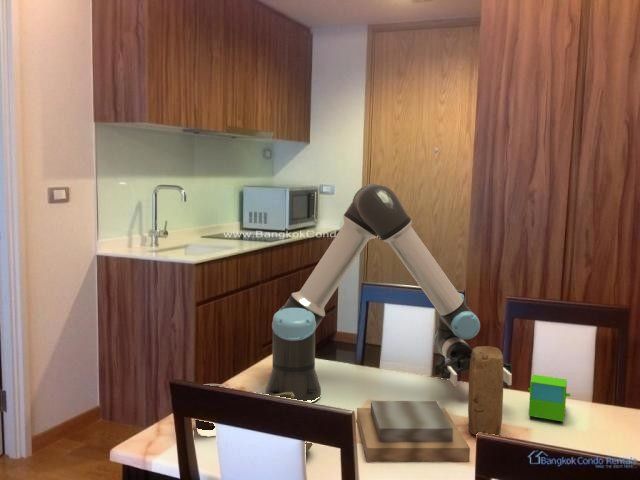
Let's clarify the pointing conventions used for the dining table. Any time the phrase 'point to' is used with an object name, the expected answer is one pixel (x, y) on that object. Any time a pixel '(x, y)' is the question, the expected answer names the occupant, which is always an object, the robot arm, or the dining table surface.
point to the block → (485, 390)
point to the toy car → (547, 397)
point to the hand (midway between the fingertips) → (483, 379)
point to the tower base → (409, 447)
